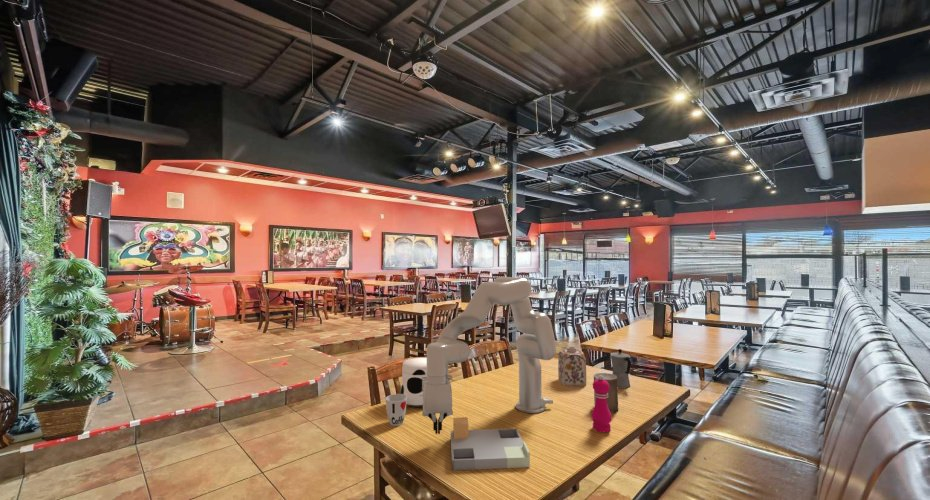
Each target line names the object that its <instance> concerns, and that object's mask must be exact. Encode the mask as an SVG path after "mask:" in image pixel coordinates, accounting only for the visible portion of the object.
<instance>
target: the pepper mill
mask: <svg viewBox="0 0 930 500" xmlns="http://www.w3.org/2000/svg"><path fill="white" fill-rule="evenodd" d="M598 378H599V379H597V380H595V381H594V380H593V383H592V388H593V396H595V398H596V403H595V402H594V405H593V409H592V410H591V411H592V412H591V420H592V421H593V422H592V429H593V430H594V431H597V432H599V433H608V432H609V433H610V431H611V429H612V428H611V424H610V423H611V422H612V421H613V419H612V412H610V410H609V408H608V405H607V398H608V393H607V392H608V391H609V388H610V387H609V384H608V382H607V381H606V380H603V376H602V375H600V376H599V377H598ZM594 390H595V392H594Z"/></svg>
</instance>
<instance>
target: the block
mask: <svg viewBox="0 0 930 500" xmlns="http://www.w3.org/2000/svg"><path fill="white" fill-rule="evenodd" d="M452 420H453V421H452V422H453V430H452V431H453V432H454V439H457V438H469V436H468V430H469V418H468V417H467V416H465V417H453V419H452Z"/></svg>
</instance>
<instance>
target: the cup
mask: <svg viewBox="0 0 930 500" xmlns="http://www.w3.org/2000/svg"><path fill="white" fill-rule="evenodd" d="M406 400H407V396H406V395H403V394H400V393H396V394H395V393H394V394H390V395H387V396H386V397H385V410H386V414H387V420H388V423H389V425H390V426H392V427H398V426H401V425H403V423H404V421H405V417H406V412H407V410H406V409H407V405H406Z"/></svg>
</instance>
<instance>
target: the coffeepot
mask: <svg viewBox="0 0 930 500" xmlns="http://www.w3.org/2000/svg"><path fill="white" fill-rule="evenodd" d="M617 350H618V352H611V353H610V361H611V366H612V373H611V374H613V375H616V376H617V384H618V389H619V388H621V389H627V388H630V387H631V383H630V376H629V374H630V370H631V364H632V361H631V359H630V358H631V356H630V354H627V353H624V352H622V351H623V350H622V349H620V348H619V349H617Z"/></svg>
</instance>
